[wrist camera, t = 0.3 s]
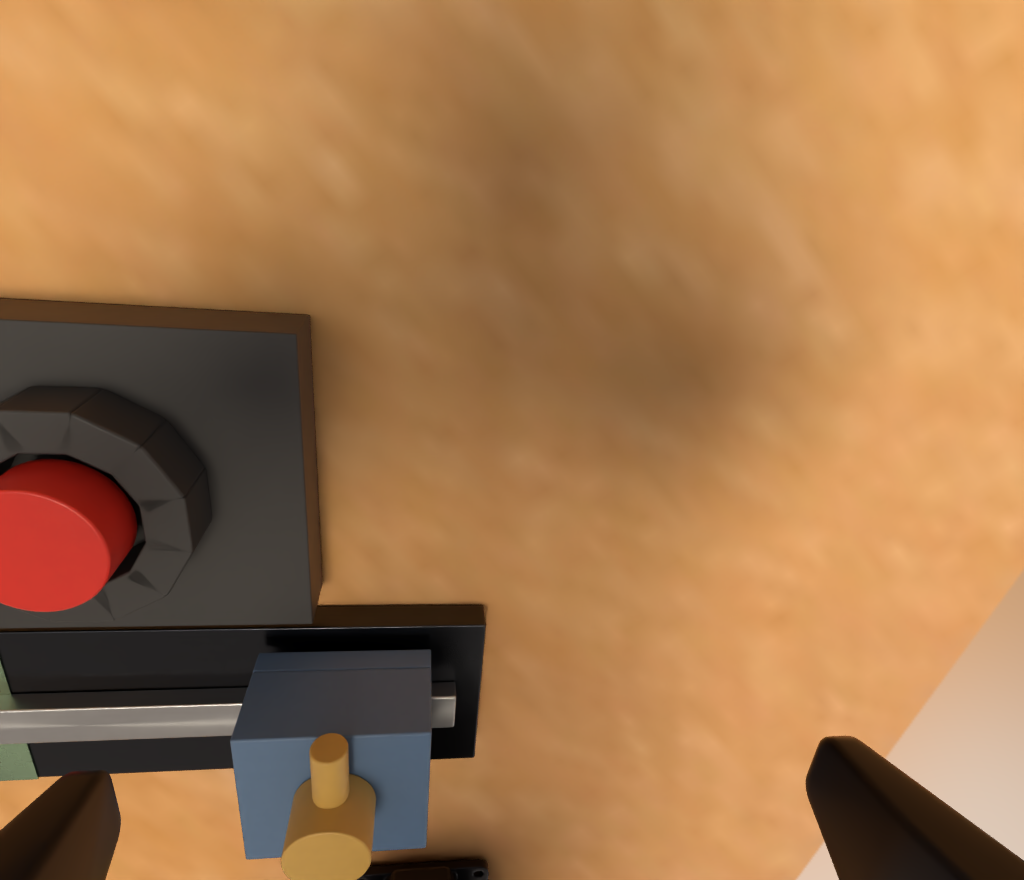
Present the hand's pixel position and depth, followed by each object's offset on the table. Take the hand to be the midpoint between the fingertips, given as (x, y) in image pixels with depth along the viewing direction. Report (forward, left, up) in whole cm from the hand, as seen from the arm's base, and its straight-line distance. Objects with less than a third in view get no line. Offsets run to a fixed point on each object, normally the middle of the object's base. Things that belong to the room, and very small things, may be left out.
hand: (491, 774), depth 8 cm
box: (-3, +10, -14) cm, 18 cm away
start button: (-3, +10, -11) cm, 15 cm away
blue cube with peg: (-12, +3, -12) cm, 18 cm away
